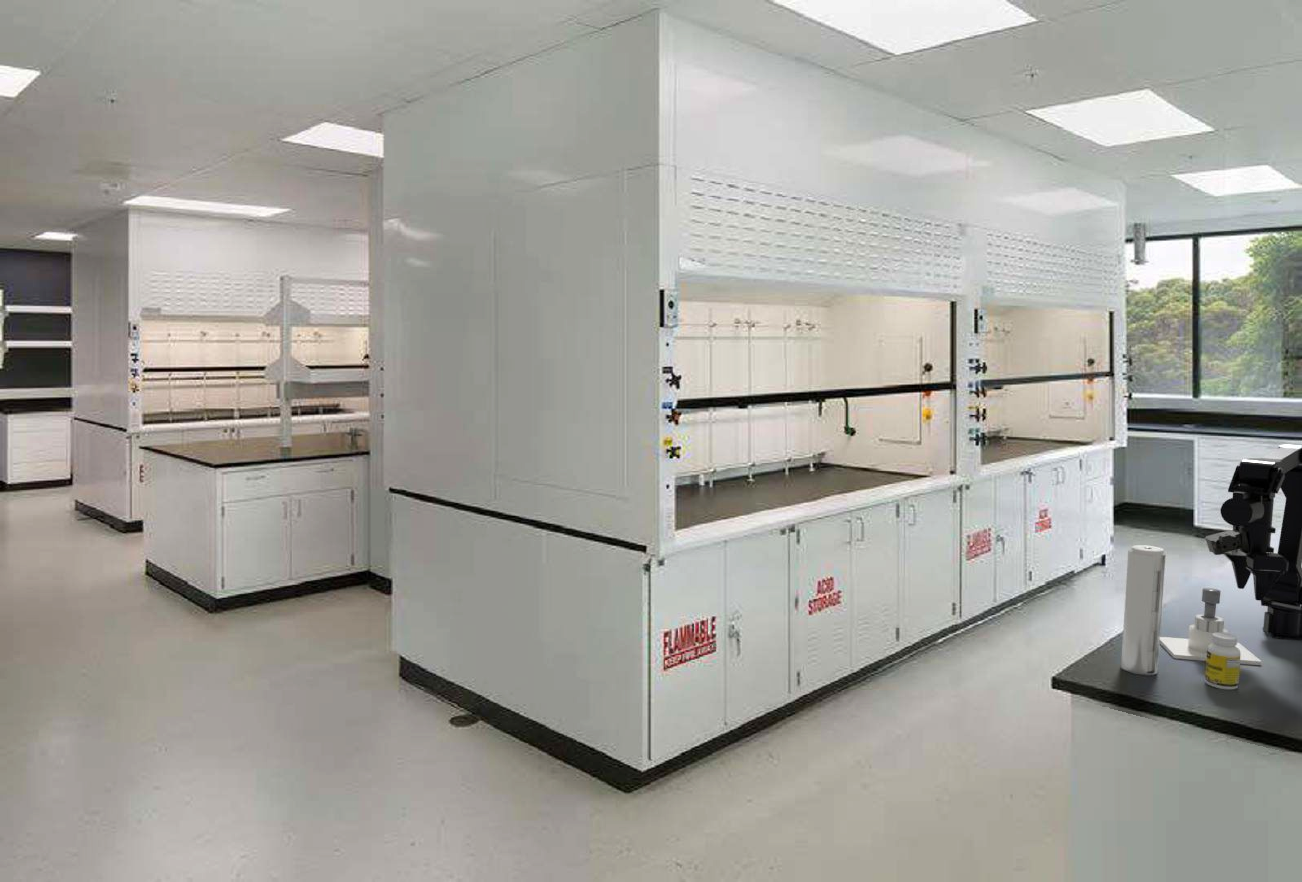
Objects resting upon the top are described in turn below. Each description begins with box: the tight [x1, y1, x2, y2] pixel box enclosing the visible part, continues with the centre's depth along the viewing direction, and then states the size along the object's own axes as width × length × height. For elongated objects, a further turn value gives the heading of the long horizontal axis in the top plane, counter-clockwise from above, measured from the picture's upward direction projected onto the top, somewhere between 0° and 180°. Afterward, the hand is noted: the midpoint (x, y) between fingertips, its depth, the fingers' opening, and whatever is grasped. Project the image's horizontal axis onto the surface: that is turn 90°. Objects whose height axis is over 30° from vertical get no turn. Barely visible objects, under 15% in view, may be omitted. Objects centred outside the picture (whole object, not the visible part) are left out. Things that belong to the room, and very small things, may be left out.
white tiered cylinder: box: [1187, 613, 1229, 653], centre depth 189 cm, size 7×7×7 cm
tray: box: [1160, 636, 1263, 666], centre depth 189 cm, size 16×12×1 cm
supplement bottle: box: [1204, 632, 1241, 691], centre depth 170 cm, size 5×5×10 cm
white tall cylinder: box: [1120, 544, 1166, 676], centre depth 178 cm, size 6×6×25 cm
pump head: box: [1201, 587, 1221, 618], centre depth 188 cm, size 3×3×6 cm
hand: (1249, 594), depth 186 cm, fingers open, 9 cm apart
